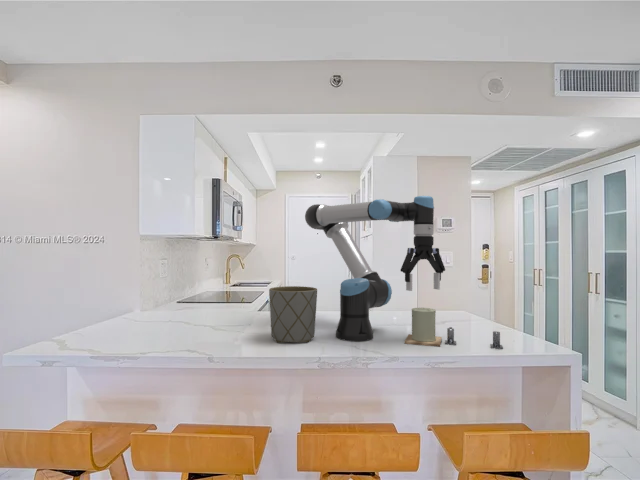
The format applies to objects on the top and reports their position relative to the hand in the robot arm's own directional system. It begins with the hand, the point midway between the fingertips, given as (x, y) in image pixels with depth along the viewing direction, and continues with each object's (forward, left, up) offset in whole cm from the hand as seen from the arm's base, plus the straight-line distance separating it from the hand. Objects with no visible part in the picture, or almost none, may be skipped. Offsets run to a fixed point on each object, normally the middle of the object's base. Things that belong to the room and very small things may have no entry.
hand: (423, 289), depth 151 cm
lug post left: (+10, 0, -20) cm, 22 cm away
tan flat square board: (0, 0, -20) cm, 20 cm away
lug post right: (+26, 0, -20) cm, 33 cm away
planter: (-49, -15, -20) cm, 55 cm away
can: (0, 0, -19) cm, 19 cm away
